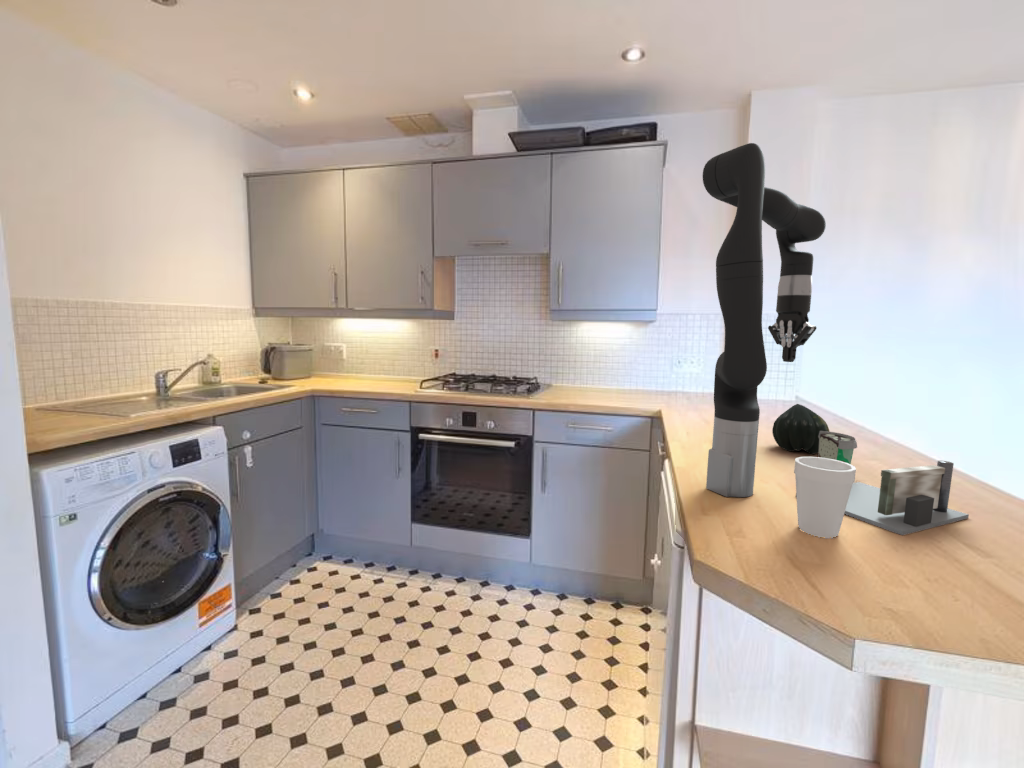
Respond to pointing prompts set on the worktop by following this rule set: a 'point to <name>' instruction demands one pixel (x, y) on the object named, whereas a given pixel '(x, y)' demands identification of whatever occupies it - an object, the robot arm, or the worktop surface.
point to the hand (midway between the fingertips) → (788, 361)
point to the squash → (799, 429)
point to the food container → (836, 446)
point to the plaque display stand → (916, 509)
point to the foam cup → (822, 494)
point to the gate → (908, 487)
